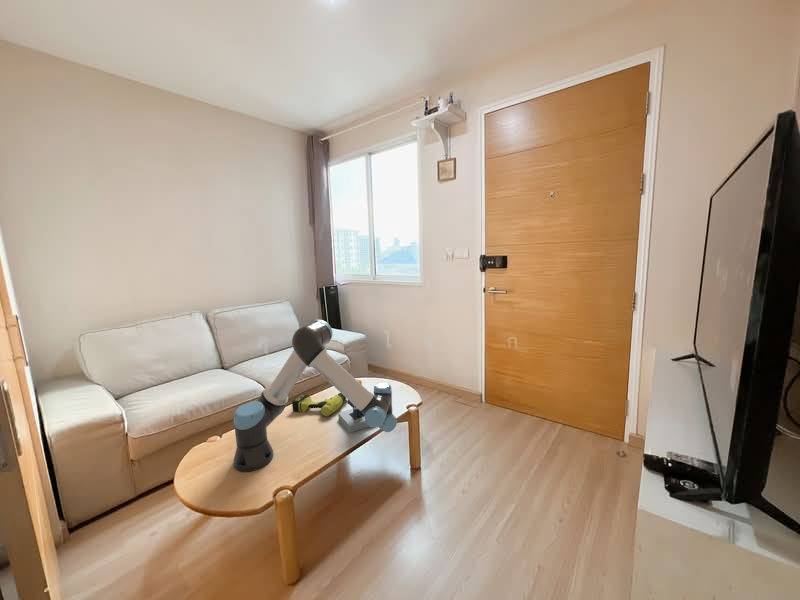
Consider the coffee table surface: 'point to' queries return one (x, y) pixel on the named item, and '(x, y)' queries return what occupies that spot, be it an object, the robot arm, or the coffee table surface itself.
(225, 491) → the coffee table surface
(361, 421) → the slate holder
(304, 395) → the cordless drill
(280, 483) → the coffee table surface
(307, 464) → the coffee table surface
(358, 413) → the chuck key rod
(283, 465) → the coffee table surface
